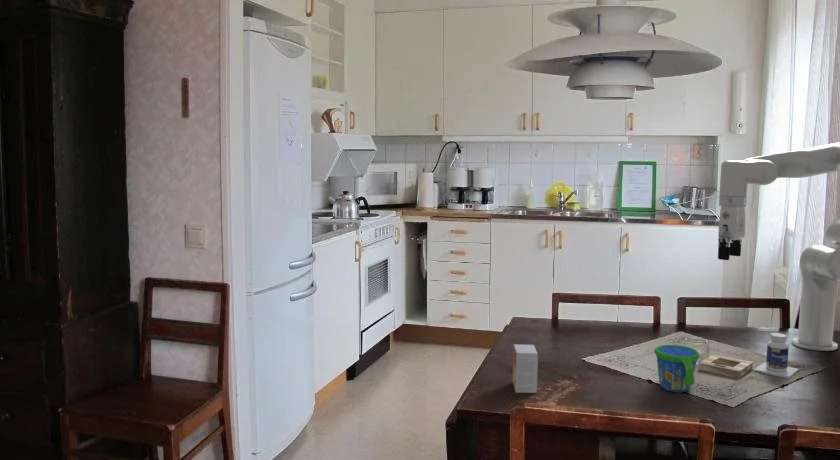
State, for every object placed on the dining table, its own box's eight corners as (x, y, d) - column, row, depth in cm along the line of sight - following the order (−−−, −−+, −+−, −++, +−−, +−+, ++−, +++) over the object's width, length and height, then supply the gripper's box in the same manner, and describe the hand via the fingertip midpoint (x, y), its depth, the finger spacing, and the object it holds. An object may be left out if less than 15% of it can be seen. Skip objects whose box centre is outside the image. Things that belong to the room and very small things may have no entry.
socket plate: (713, 360, 213) (713, 353, 213) (752, 369, 206) (753, 361, 206) (698, 369, 205) (698, 362, 205) (739, 378, 198) (739, 370, 198)
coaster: (764, 364, 210) (764, 362, 210) (798, 370, 204) (798, 368, 204) (754, 371, 204) (754, 369, 204) (788, 378, 198) (789, 376, 198)
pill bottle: (768, 371, 202) (770, 336, 201) (763, 365, 207) (765, 331, 206) (789, 372, 201) (792, 338, 200) (784, 366, 206) (786, 332, 205)
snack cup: (706, 399, 182) (709, 359, 181) (664, 399, 182) (666, 359, 181) (684, 378, 198) (686, 342, 196) (645, 378, 198) (647, 341, 196)
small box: (512, 382, 194) (513, 343, 193) (533, 382, 194) (534, 344, 192) (515, 393, 186) (515, 352, 185) (537, 393, 186) (538, 353, 184)
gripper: (735, 204, 212) (731, 262, 214) (755, 200, 224) (751, 255, 227) (709, 202, 217) (706, 259, 219) (729, 199, 229) (726, 253, 232)
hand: (729, 257), depth 223 cm, fingers open, 9 cm apart
